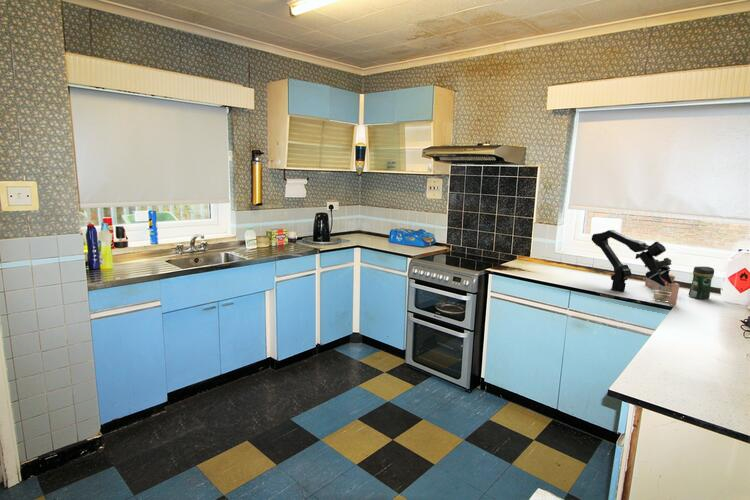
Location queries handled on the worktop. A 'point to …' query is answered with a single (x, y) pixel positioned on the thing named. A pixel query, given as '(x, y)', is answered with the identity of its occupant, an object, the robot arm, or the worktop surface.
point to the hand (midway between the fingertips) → (668, 284)
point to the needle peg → (674, 293)
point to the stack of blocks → (656, 286)
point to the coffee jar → (701, 282)
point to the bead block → (662, 295)
